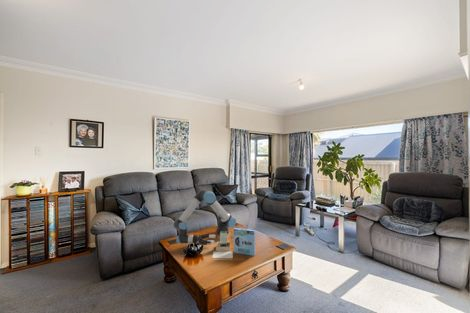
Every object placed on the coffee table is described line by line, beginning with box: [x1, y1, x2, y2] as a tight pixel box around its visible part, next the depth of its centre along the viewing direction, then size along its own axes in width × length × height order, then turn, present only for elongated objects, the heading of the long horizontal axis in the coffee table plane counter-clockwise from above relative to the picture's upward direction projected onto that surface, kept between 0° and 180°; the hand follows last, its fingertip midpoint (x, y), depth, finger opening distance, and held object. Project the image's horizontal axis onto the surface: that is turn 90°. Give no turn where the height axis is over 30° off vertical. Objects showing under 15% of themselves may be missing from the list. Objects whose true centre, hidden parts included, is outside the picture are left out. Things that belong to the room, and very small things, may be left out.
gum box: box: [233, 226, 256, 257], centre depth 192 cm, size 20×5×23 cm, turn 72°
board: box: [211, 250, 234, 259], centre depth 188 cm, size 12×18×1 cm, turn 91°
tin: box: [219, 231, 228, 247], centre depth 201 cm, size 5×6×16 cm
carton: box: [215, 241, 231, 252], centre depth 201 cm, size 12×13×14 cm
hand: (214, 239), depth 201 cm, fingers open, 13 cm apart
